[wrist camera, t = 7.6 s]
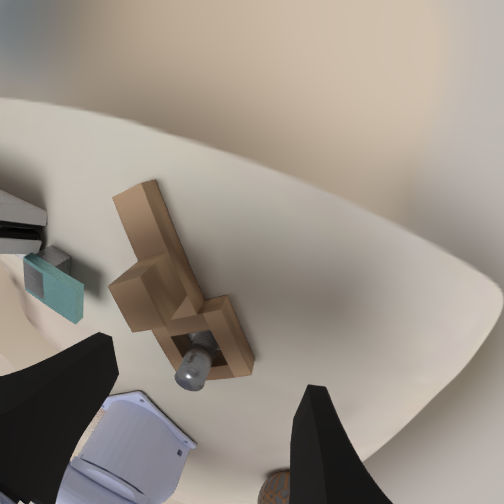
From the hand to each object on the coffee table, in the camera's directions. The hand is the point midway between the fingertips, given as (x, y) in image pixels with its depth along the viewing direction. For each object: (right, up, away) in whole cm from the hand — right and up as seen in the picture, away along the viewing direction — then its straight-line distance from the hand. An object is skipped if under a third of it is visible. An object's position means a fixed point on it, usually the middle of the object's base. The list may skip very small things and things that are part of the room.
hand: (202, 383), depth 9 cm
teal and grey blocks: (-8, +1, +10) cm, 13 cm away
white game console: (-22, +10, +10) cm, 26 cm away
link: (-3, +3, +9) cm, 10 cm away
